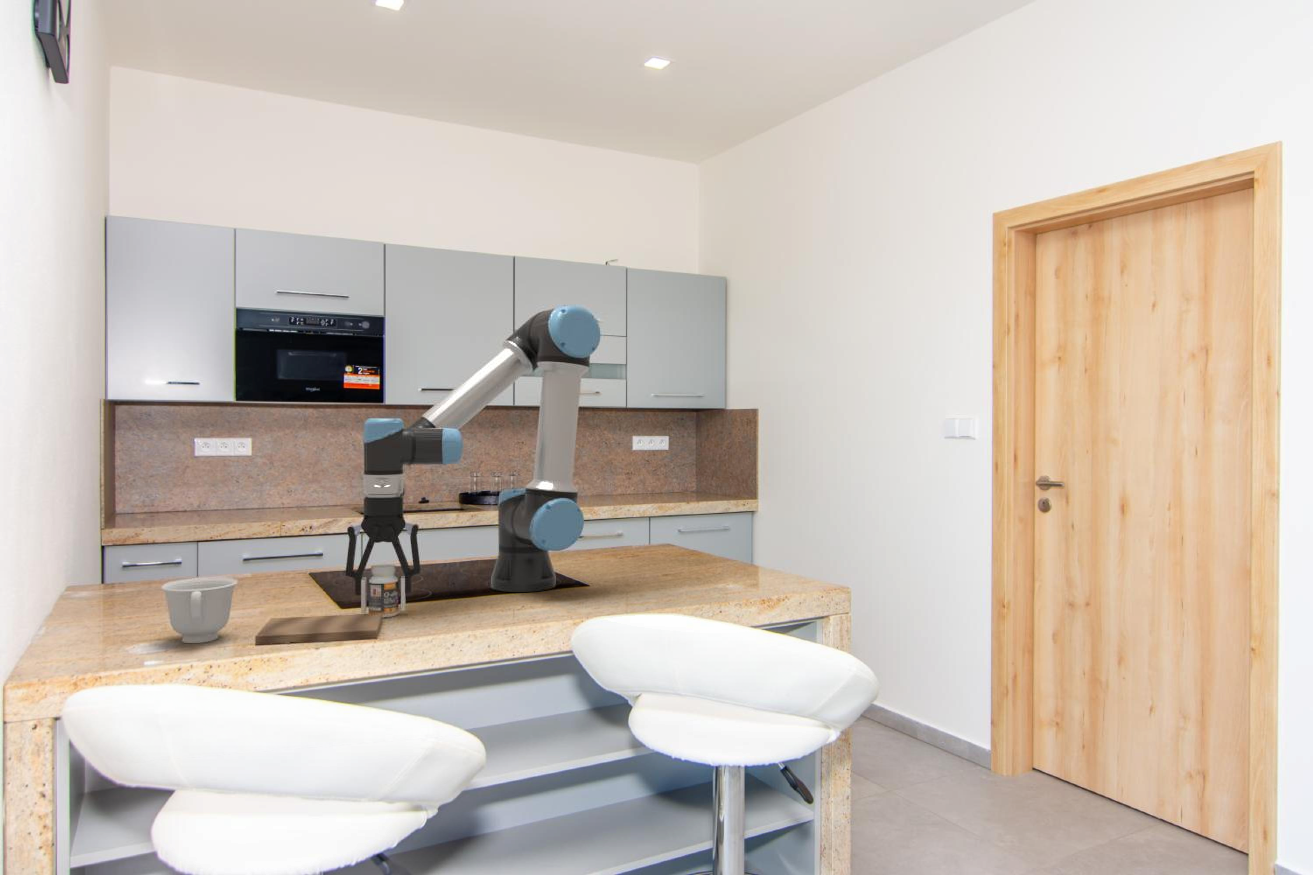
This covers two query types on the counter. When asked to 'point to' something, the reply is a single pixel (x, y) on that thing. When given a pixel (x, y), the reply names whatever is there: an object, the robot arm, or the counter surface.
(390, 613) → the pill bottle
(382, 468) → the robot arm
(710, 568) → the counter surface
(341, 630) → the walnut board
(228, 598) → the teacup
